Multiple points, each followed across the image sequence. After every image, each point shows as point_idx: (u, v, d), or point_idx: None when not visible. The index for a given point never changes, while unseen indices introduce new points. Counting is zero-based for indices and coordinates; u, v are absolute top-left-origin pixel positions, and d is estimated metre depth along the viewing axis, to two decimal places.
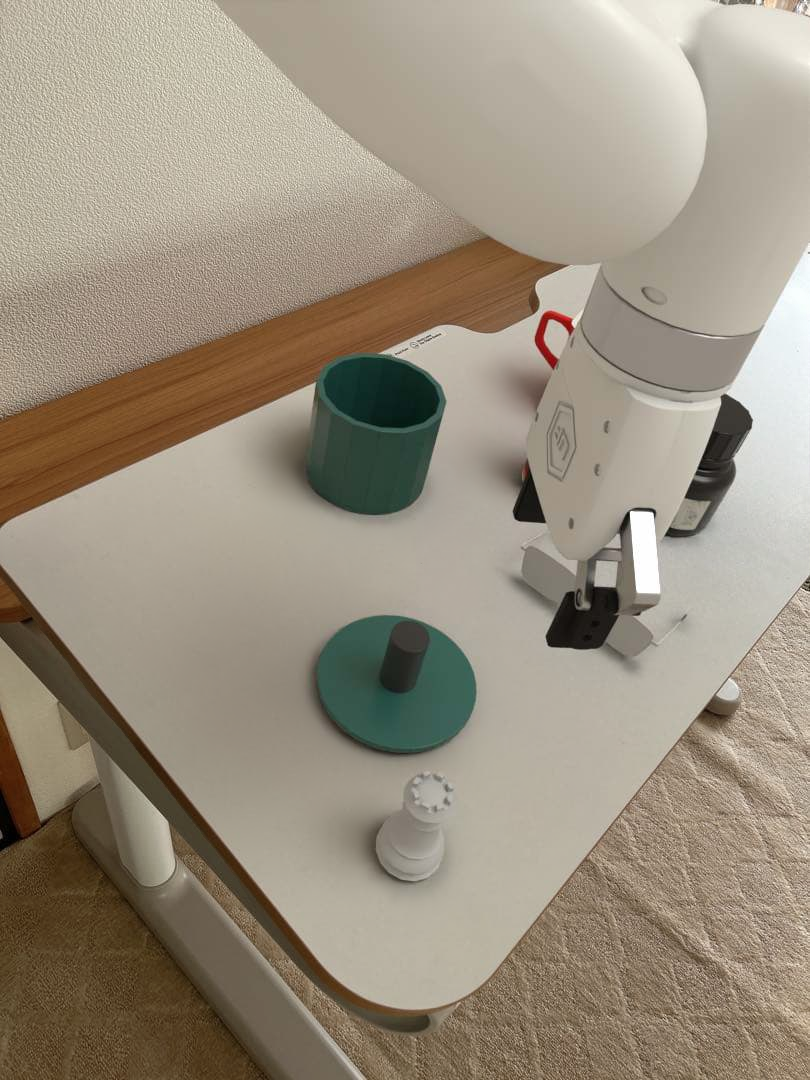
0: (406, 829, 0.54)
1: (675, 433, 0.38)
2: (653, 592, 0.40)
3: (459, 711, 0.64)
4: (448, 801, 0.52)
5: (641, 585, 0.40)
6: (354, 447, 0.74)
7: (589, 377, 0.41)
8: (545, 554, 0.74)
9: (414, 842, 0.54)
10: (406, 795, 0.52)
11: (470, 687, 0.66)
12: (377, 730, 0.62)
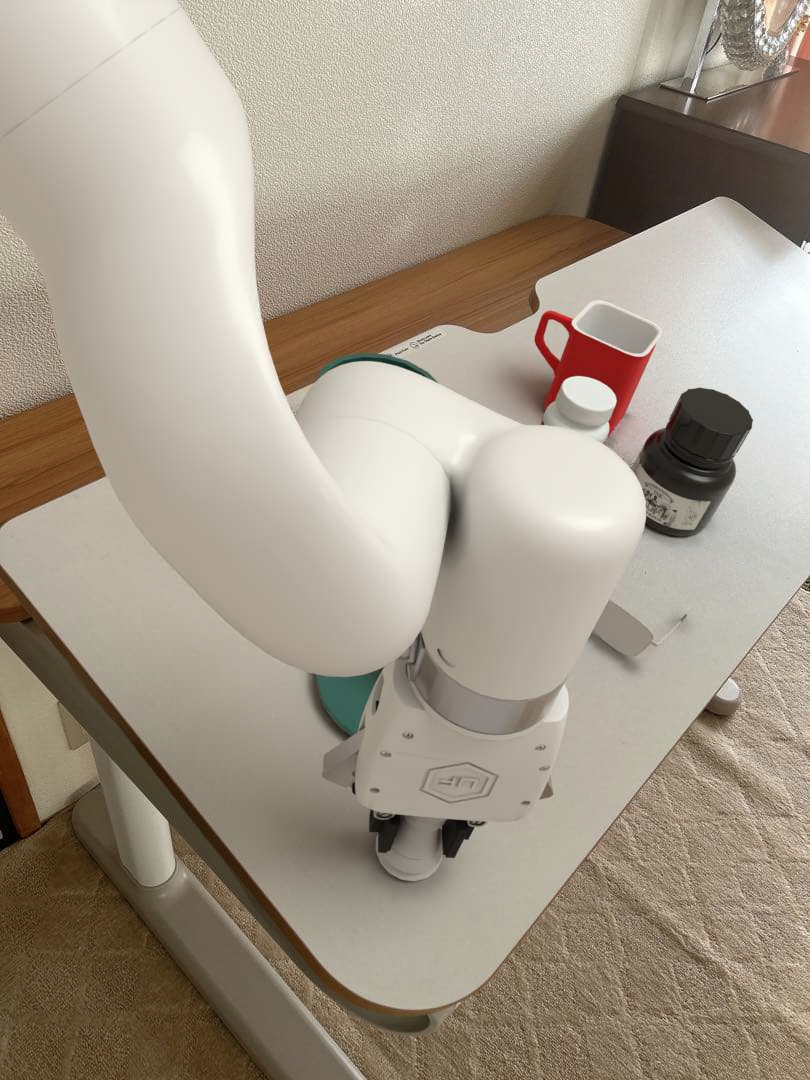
0: (406, 828, 0.54)
1: None
2: None
3: None
4: None
5: (551, 785, 0.51)
6: None
7: (483, 741, 0.43)
8: None
9: (414, 842, 0.54)
10: None
11: None
12: None
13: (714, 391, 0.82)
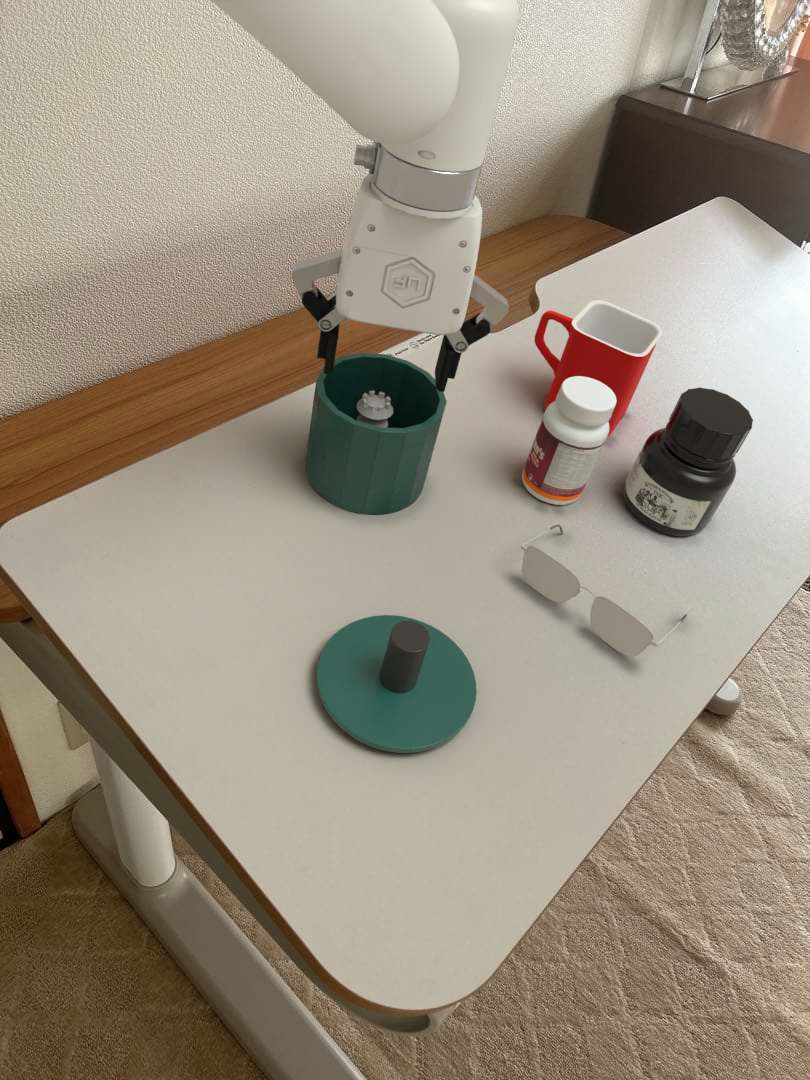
0: None
1: None
2: (505, 300, 0.70)
3: (459, 711, 0.64)
4: (386, 405, 0.77)
5: (504, 302, 0.70)
6: (354, 447, 0.74)
7: (422, 232, 0.63)
8: (545, 554, 0.74)
9: None
10: (358, 405, 0.77)
11: (470, 687, 0.66)
12: (377, 730, 0.62)
13: (714, 391, 0.82)
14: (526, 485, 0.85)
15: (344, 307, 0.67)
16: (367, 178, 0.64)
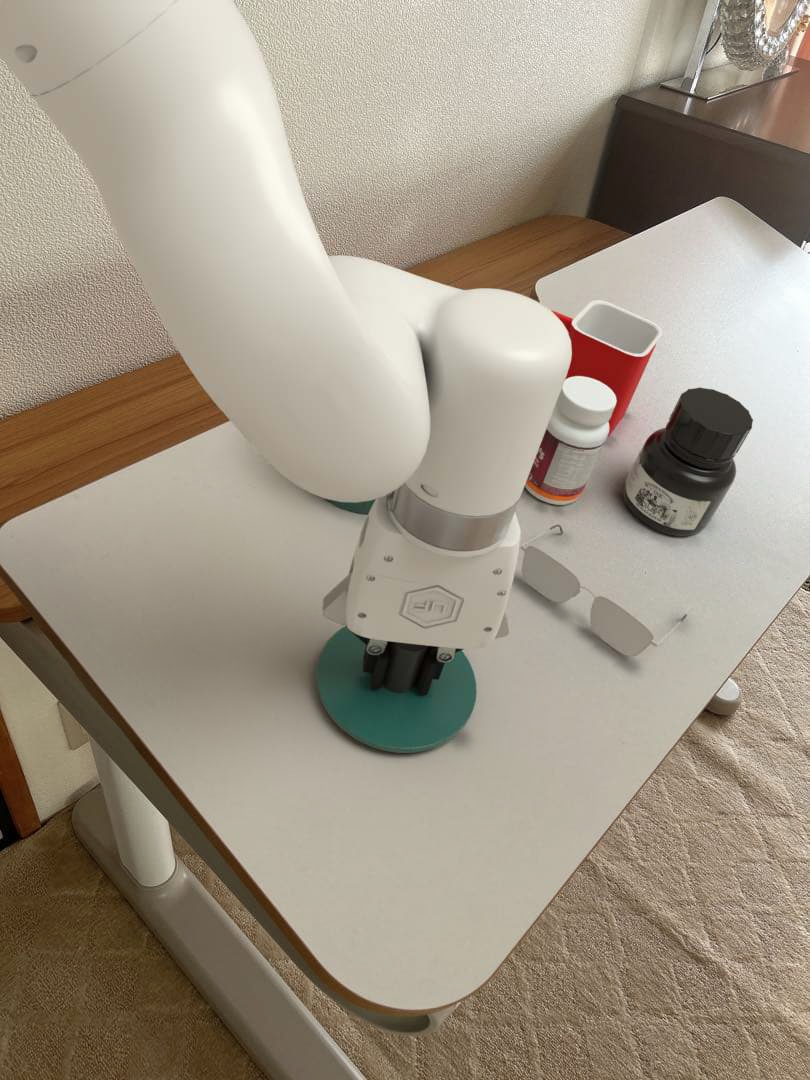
0: None
1: None
2: (507, 621, 0.61)
3: (459, 711, 0.64)
4: None
5: (507, 625, 0.61)
6: None
7: (449, 563, 0.53)
8: (545, 554, 0.74)
9: None
10: None
11: (470, 687, 0.66)
12: (377, 730, 0.62)
13: (714, 391, 0.82)
14: (526, 485, 0.85)
15: (355, 627, 0.57)
16: None
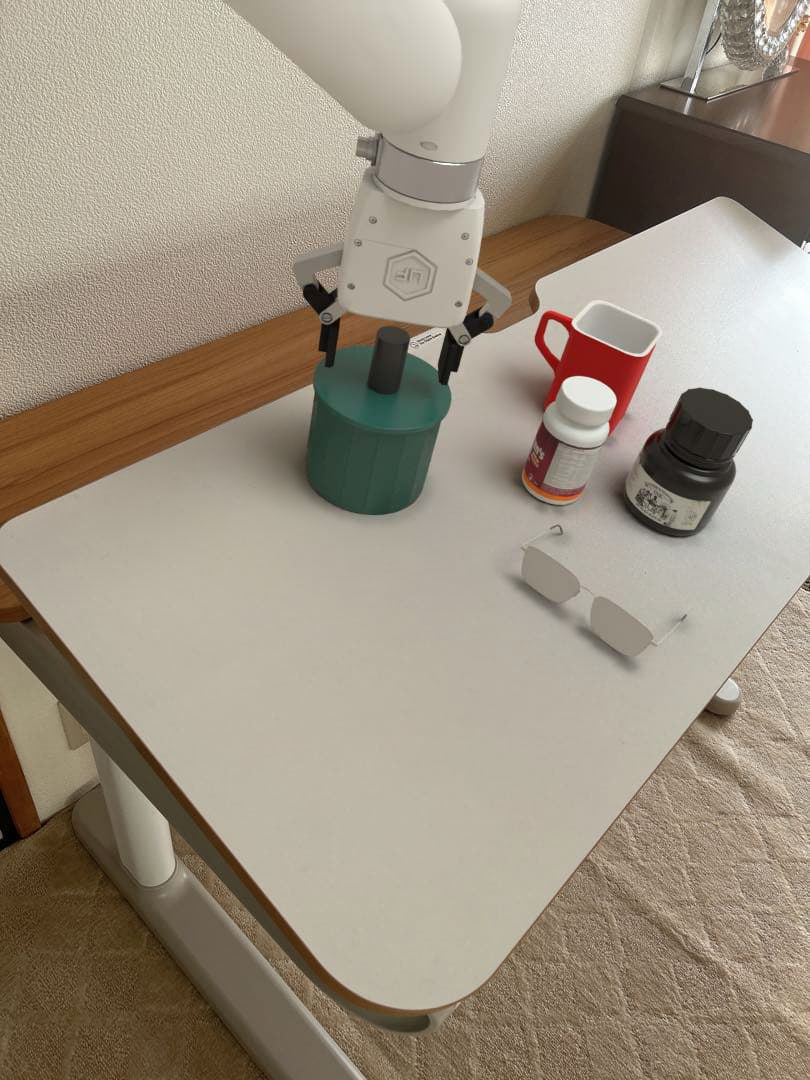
0: None
1: None
2: (508, 292, 0.70)
3: (436, 409, 0.75)
4: None
5: (507, 294, 0.69)
6: (354, 447, 0.74)
7: (424, 224, 0.63)
8: (545, 554, 0.74)
9: None
10: None
11: (446, 395, 0.76)
12: (365, 415, 0.72)
13: (714, 391, 0.82)
14: (526, 485, 0.85)
15: (346, 300, 0.67)
16: (369, 170, 0.64)
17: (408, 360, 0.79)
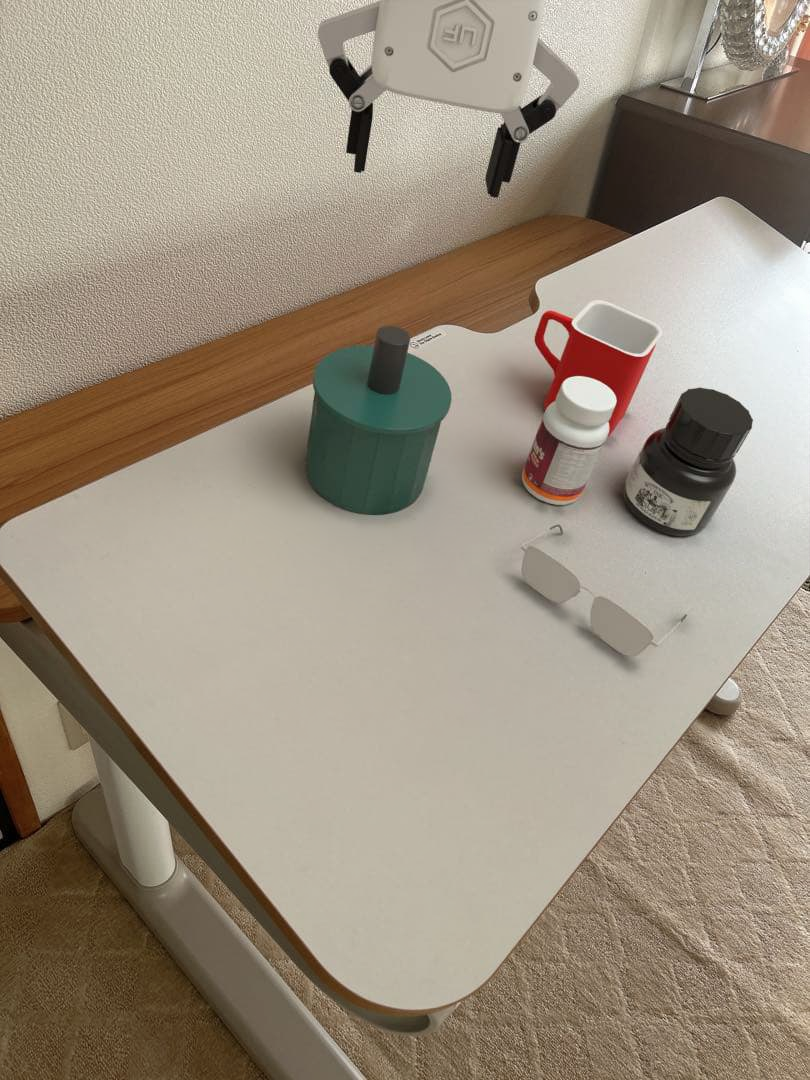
0: None
1: None
2: (575, 73, 0.59)
3: (436, 409, 0.75)
4: None
5: (573, 73, 0.58)
6: (354, 447, 0.74)
7: None
8: (545, 554, 0.74)
9: None
10: None
11: (446, 395, 0.76)
12: (365, 415, 0.72)
13: (714, 391, 0.82)
14: (526, 485, 0.85)
15: (382, 71, 0.56)
16: None
17: (408, 360, 0.79)
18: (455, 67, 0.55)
